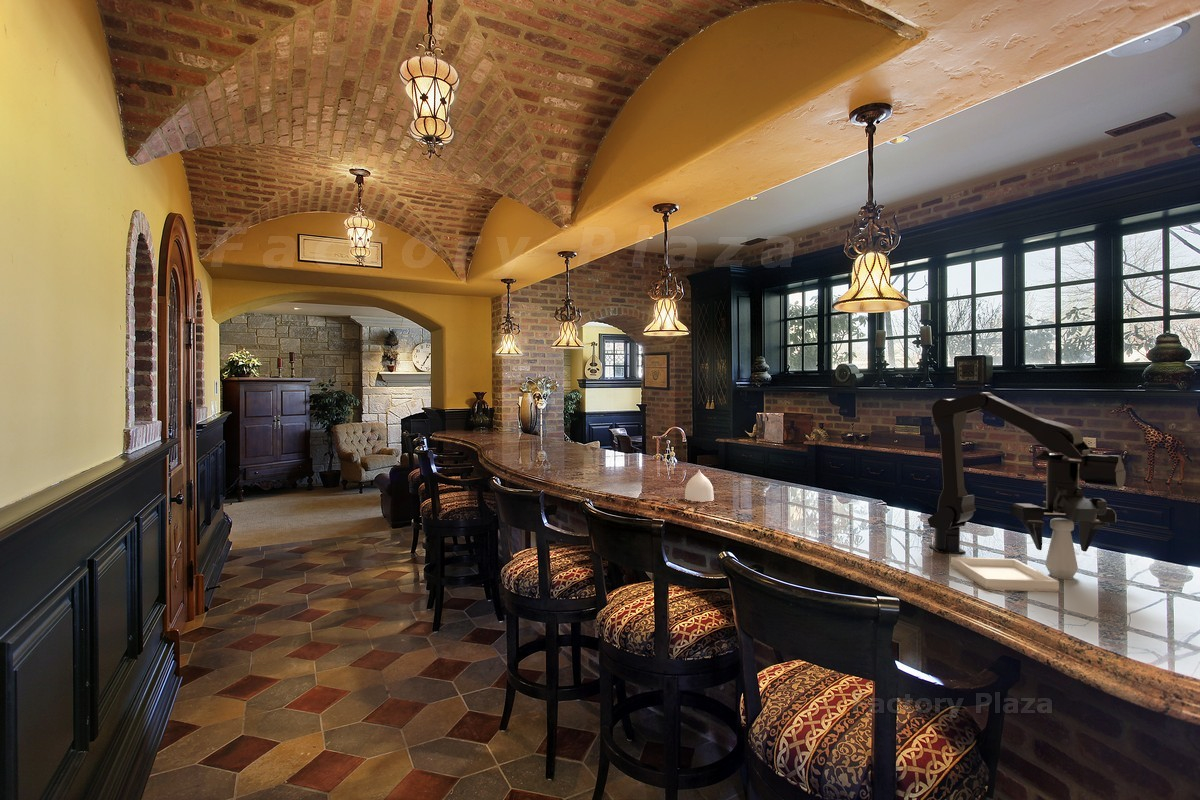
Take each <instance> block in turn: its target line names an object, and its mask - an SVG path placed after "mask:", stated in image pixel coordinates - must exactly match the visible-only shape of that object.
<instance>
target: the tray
mask: <svg viewBox="0 0 1200 800" xmlns="http://www.w3.org/2000/svg"><path fill="white" fill-rule="evenodd" d="M950 560H951V561H950V562H951V565H950V566H951V567H952V568H953V569H955V570H957V571H958V572H959V573H962V574H963V575H964V576H966V578H969V579H970V580H971V581H973V582H975V583H976V584H978V585H979V586H980V587H982V588H984V589H986V590H995V591H997V590H999V591H1020V592H1021V591H1022V592H1023V591H1024V592H1050V593H1060V581H1059V580H1056V579H1055V578H1053V577H1052V576H1049V575H1047V574H1045V573H1043V572H1041V571H1039V570H1038V569H1035V568H1033V567H1032V566H1029V565H1028V564H1027V563H1024V562H1023V561H1020V560H1018V559H1016V558H1002V557H1001V558H999V557H998V558H997V557H963V556H960V557H959V556H951V559H950Z"/></svg>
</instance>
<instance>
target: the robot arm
mask: <svg viewBox="0 0 1200 800" xmlns="http://www.w3.org/2000/svg"><path fill="white" fill-rule="evenodd" d="M980 410H983V411H984V412H987V413H989V414H991V416H994V417H997V418H998V419H1000V420H1002V421H1004V422H1007V423H1009V424H1010V425H1012V426H1015V427H1017V428H1019V429H1021V430H1022V431H1024V432H1026V433H1027V434H1029V435H1030V436H1031V437H1032V438H1033V439H1034V440H1035V441H1036V442H1038V443H1039V444H1040V445H1042V446H1043V447H1045V448H1046V449H1044V450H1043V451H1042V452H1041V453H1040V454H1038V455H1037V456H1035V459H1034V460H1036V461H1045V462H1046V483H1042V488H1043V489H1045V490H1046V491H1045V493H1046V494H1045V495H1046V496H1045V497H1046V498H1045V501H1042V507H1041V506H1038V505H1035V504H1033V503H1025V502H1024V503H1019V502H1018V503H1017V502H1016V503H1015V502H1014V503H1013V504H1012V505H1011V506H1010V516H1012V517H1013V516H1014V517H1016V519H1017V520H1019V521H1022V523H1023V525H1024V527H1025V528H1026V530H1027V531H1028V533H1029V535H1030V537H1031V540H1032V541H1033V543H1034V546H1035V548H1036V550H1037V551H1042V549H1043V527H1044V525H1045V524H1046V522H1045V521H1042V519H1044V518H1045V517H1058V518H1061V517H1062V518H1063V517H1065V518H1067V517H1068V518H1067V519H1068V520H1071V521H1072V522H1078V534H1079V536H1078V537H1079V544H1080V545H1079V546H1080V549H1081V551H1082V552H1083V553H1085V552H1087V551H1088V549H1089V547H1090V545H1091V543H1092V542H1093V539H1094V537H1095V536H1096V534H1097V533H1098V531H1099V530H1100V529H1102V528H1103V527H1109V526H1110V523H1117V513H1116V512H1115V510H1114V509H1113V508H1110V507H1108V505H1107V504H1108V503H1107V500H1105V499H1104V498H1102V497H1092V498H1086V497H1085V495H1084V493H1085V492H1084V489H1083V488H1082V487H1080V480H1081V481H1083V482H1084V483H1085V484H1086V485H1088V486H1098V487H1108V488H1114V489H1122V488H1123V487H1124V485H1125V482H1126V478H1127V477H1126V476H1127V475H1126V474H1127V473H1126V472H1127V471H1126V470H1125V466H1124V462H1123V461H1122V456H1121V455H1116V454H1115V455H1114V454H1113V455H1106V454H1105V455H1103V454H1096V453H1095V452H1094V451H1093V450H1092V449H1091V447H1090V446H1089V445H1088V444H1087V443H1086V442H1085V440H1084V435H1083V433H1082V430H1081V429H1079V428H1077V427H1075V426H1072V425H1069V424H1066V423H1063V422H1060V421H1055V420H1050V419H1046V418H1043V417H1040V416H1038V415H1035V414H1034V413H1031V412H1029V411H1027V410H1025V409H1023V408H1021V407H1019V406H1017V405H1014V404H1013V403H1010V402H1008V401H1006V400H1004V399H1001V398H999V397H998V396H996V395H994V394H993V393H991V392H989V391H987V392H986V391H985V392H984V391H983V392H982V391H979V392H976V393H973V394H971V395H966V396H962V397H958V398H942V399H941V398H940V399H938V400H936V401H935V402H934V403H933V404H932V406H931V410H930V411H931V415H932V419H933V423H934V425H935V427H936V428H937V430H938V433H939V435H940V436H939V438H940V439H939V440H940V451H941V453H940V454H941V467H942V468H941V469H942V485H943V486H942V491H941V493H940V495H939V498H938V504H937V511H936V512H935V513H933V514H932V515H931V516H930V517H928V518H927V523H928V526H929V528H934V543H931V544H930V543H929V544H928V546H929V547H930V548H931V549H932V550H934V551H936V552H937V553H941V554H966V553H967V552H966V550H964V549H962V548H961V546H960V545H961V527H965V525H967V522H968V521H969V520H970V519H971V518H972V517H973V516H974V512H975V511H977V508H976V507H975V499H976V498H975V494H969V493H968V491H967V490H966V487H965V475H964V457H963V455H964V454H963V441H962V439H963V438H962V432H963V430H964V427H965V425H966V422H967V415H968V414H970V413H976V412H978V411H980ZM1053 452H1054V453H1053Z"/></svg>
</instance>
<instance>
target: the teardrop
mask: <svg viewBox="0 0 1200 800" xmlns="http://www.w3.org/2000/svg"><path fill="white" fill-rule="evenodd" d="M685 499H687V500H691V501H700V502H705V501H713V500H714V501H715V496H714V487H713V485H712V483H711V481H710V479H709V478H707V476H705V475H704V474H703V473H702V472H701V470H700V469H698V471H697V473H695V474H694V475H693V476H691V478H690V479H689V480H688V482H687V483H686V485H685V492H684V500H685ZM714 501H713V502H714Z"/></svg>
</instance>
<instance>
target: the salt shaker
mask: <svg viewBox="0 0 1200 800" xmlns="http://www.w3.org/2000/svg"><path fill="white" fill-rule="evenodd" d="M1074 522H1075V521H1073V520H1071V519H1069V518H1063V517H1062V518H1061V517H1054V518H1051V519H1050V522H1049V527H1050V528H1051V529H1052V533H1051V538H1050V542H1049V545H1048V550H1047V555H1046V559H1045V568H1046V570H1047V571H1048V572H1049V574H1050V577H1052V578H1053V577H1054V578H1057V579H1060V580H1072V579H1073V578H1074V576H1075V575H1076V573H1077V572H1078V569H1079V566H1078V562H1077V561H1078V560H1077V557H1076V552H1075V547H1074V542H1073V535H1072V531H1074V530H1075V524H1074Z"/></svg>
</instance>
